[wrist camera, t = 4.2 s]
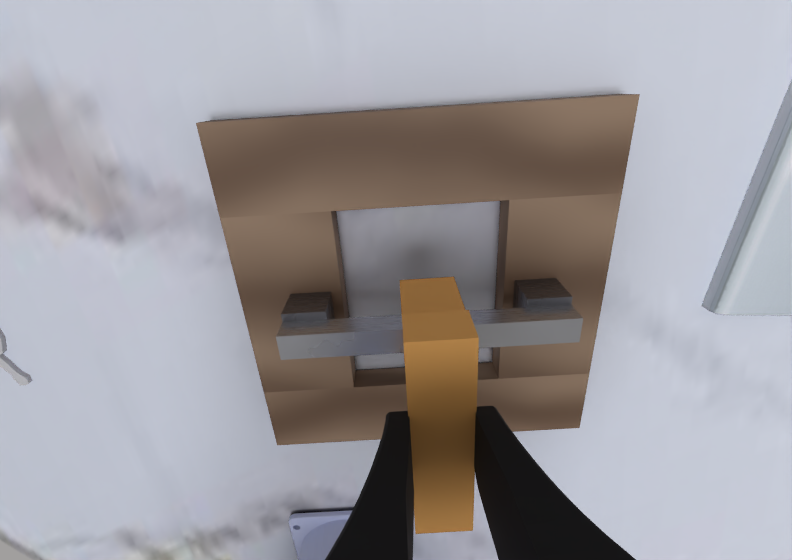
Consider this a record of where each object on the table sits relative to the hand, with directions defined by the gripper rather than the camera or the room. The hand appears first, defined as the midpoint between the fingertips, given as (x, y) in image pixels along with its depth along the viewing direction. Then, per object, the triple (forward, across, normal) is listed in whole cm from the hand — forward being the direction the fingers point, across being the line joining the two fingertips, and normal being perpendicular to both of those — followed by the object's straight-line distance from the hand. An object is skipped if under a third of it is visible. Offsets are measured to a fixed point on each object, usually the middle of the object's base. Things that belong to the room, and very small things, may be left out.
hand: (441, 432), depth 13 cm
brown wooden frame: (+10, 0, 0) cm, 10 cm away
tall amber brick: (+4, 0, 0) cm, 4 cm away
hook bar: (+8, 0, 0) cm, 8 cm away
